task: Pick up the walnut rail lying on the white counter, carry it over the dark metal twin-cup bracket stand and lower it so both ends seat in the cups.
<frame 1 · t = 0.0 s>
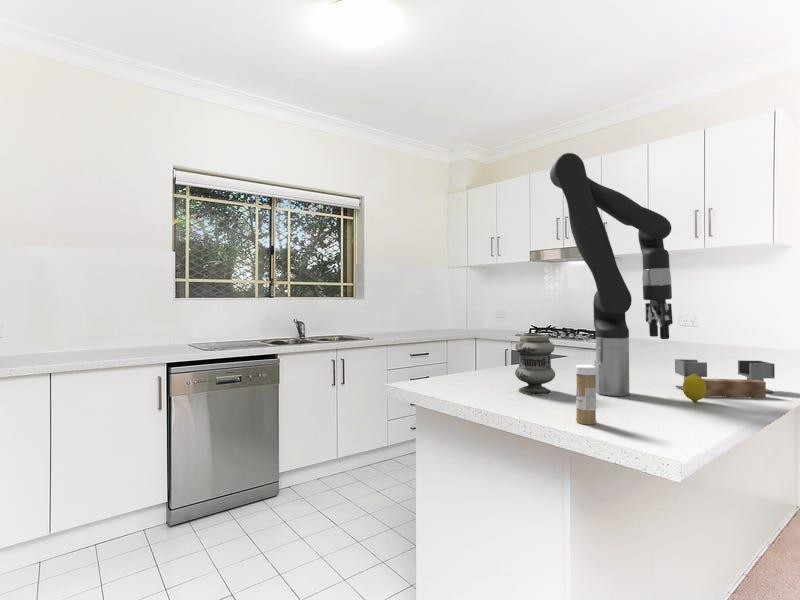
hand: (659, 337, 134), 17 cm above the table, tool pointing down, fingers open, 8 cm apart
lemon: (694, 403, 124), on the table
rail: (723, 396, 132), on the table
apothecary jar: (535, 392, 140), on the table
bracket stand: (722, 390, 140), on the table
sprinkles bottle: (586, 423, 105), on the table
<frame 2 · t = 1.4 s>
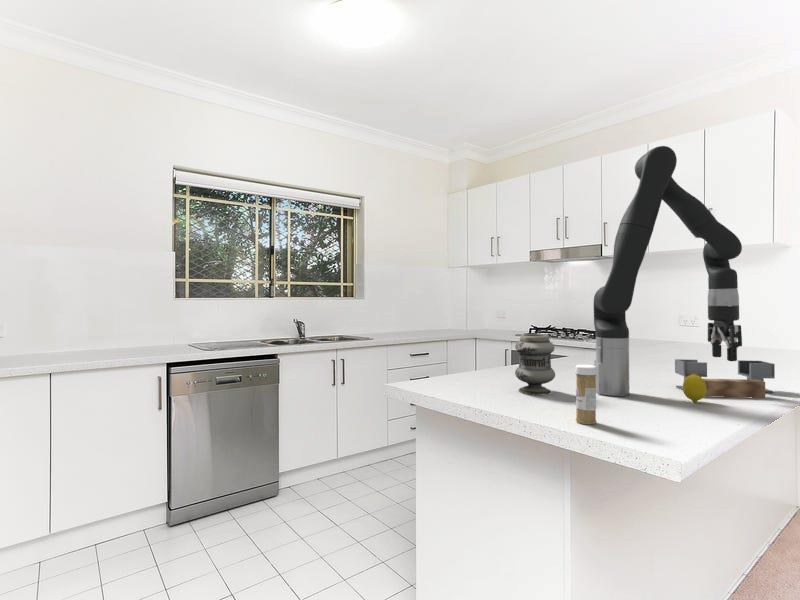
hand: (724, 359, 132), 11 cm above the table, tool pointing down, fingers open, 8 cm apart
nothing on the table moved.
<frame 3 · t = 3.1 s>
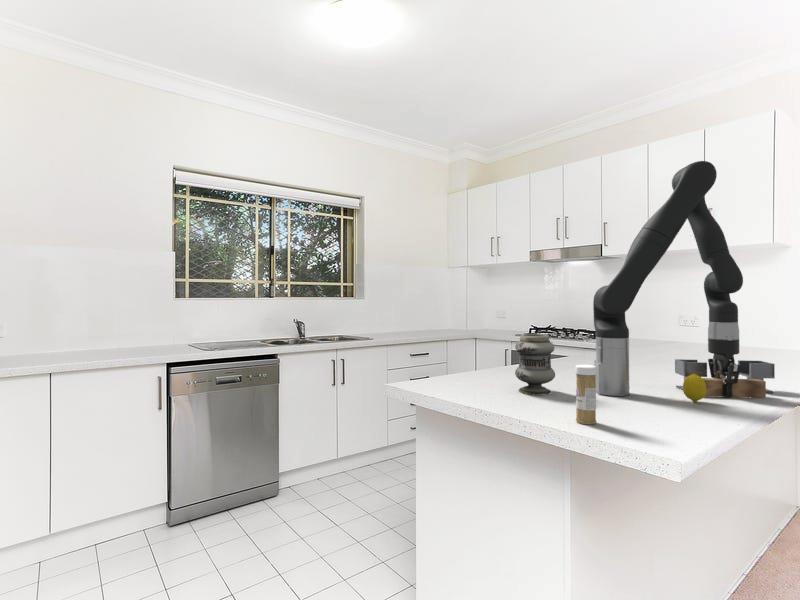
hand: (723, 395, 132), 0 cm above the table, tool pointing down, fingers closed on rail, 3 cm apart
rail: (723, 396, 132), on the table, touching gripper
everything else where it was.
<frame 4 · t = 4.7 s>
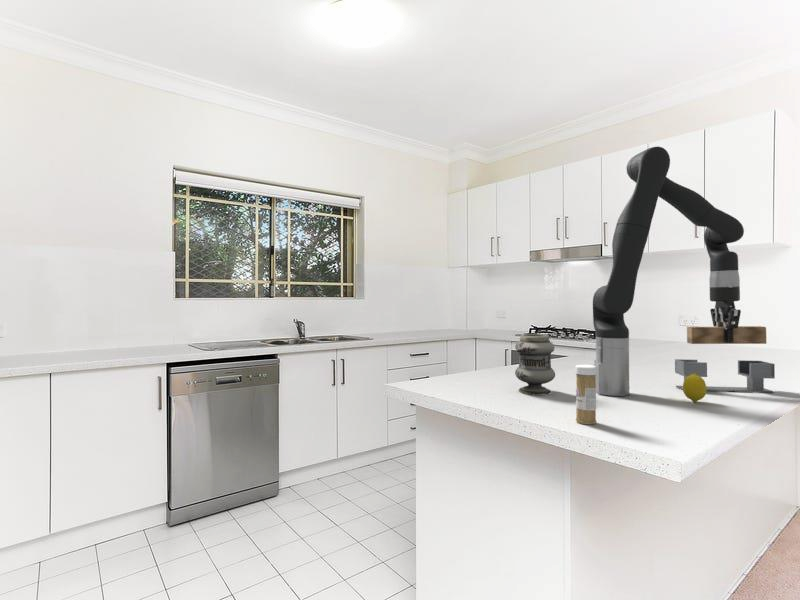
hand: (725, 341, 137), 16 cm above the table, tool pointing down, fingers closed on rail, 3 cm apart
rail: (725, 343, 137), point 15 cm above the table, touching gripper
everything else where it was.
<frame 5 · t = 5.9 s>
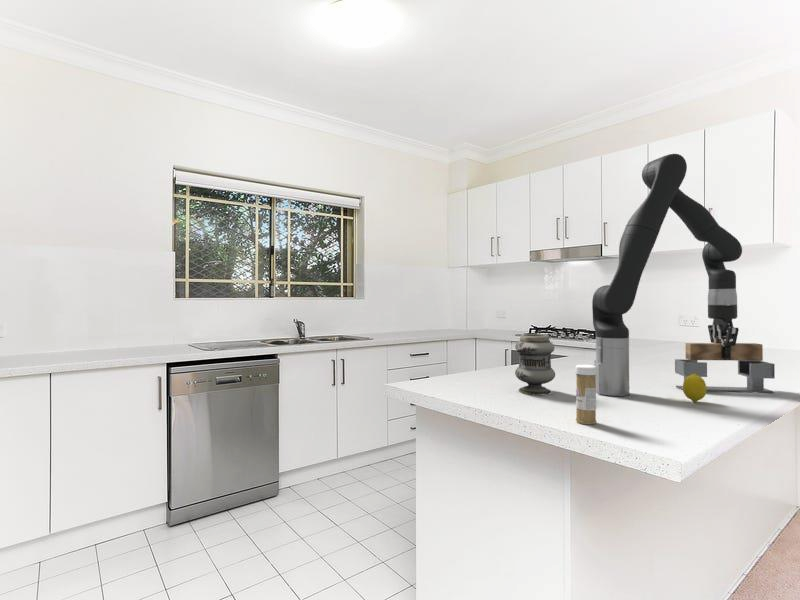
hand: (722, 358, 140), 10 cm above the table, tool pointing down, fingers closed on rail, 3 cm apart
rail: (723, 359, 140), point 10 cm above the table, touching gripper
everything else where it was.
when the fingers open (7 cm above the table, at t = 6.8 s): rail stays where it is, resting on bracket stand.
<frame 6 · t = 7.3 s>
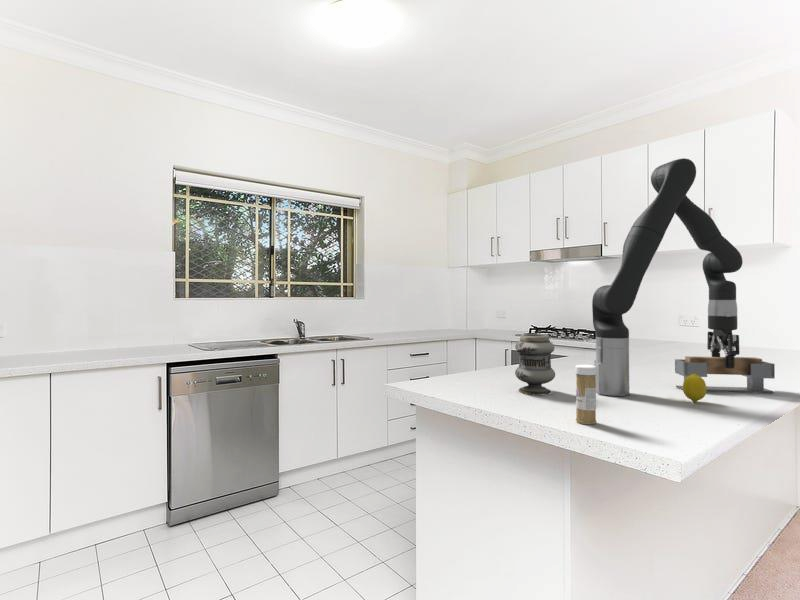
hand: (722, 366, 140), 8 cm above the table, tool pointing down, fingers open, 8 cm apart
rail: (722, 373, 140), point 5 cm above the table, touching bracket stand
everything else where it was.
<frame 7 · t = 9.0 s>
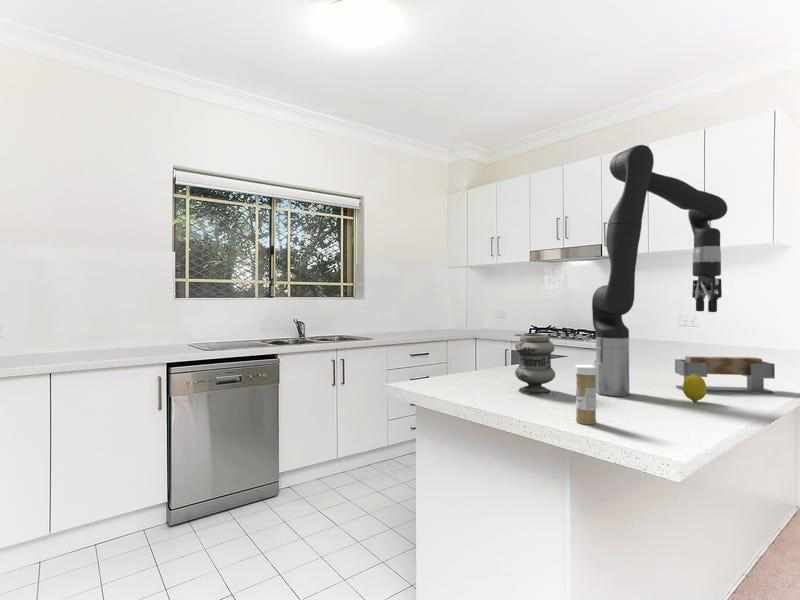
hand: (706, 311, 143), 25 cm above the table, tool pointing down, fingers open, 8 cm apart
nothing on the table moved.
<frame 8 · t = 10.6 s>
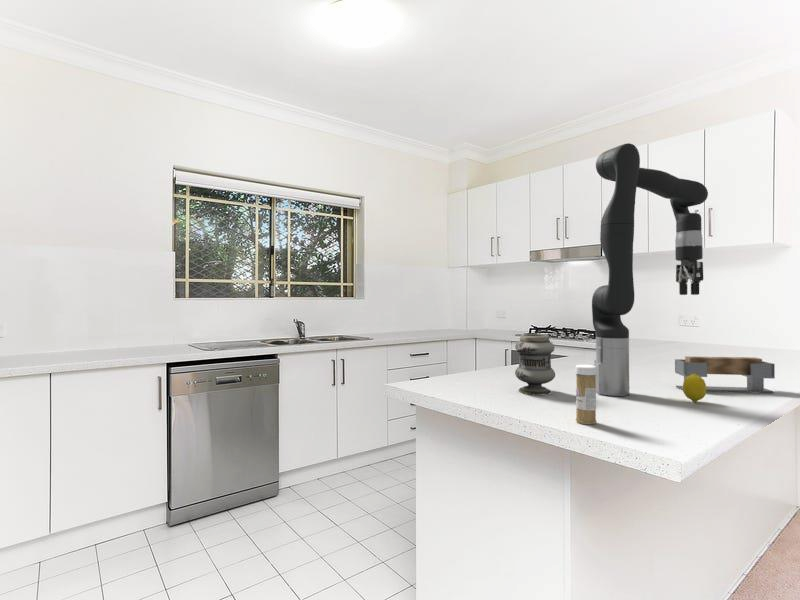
hand: (689, 294, 147), 30 cm above the table, tool pointing down, fingers open, 8 cm apart
nothing on the table moved.
at the end: rail 0.1 cm off-centre on the bracket stand, point 5.2 cm above the bracket stand's base; the gripper is holding nothing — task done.
